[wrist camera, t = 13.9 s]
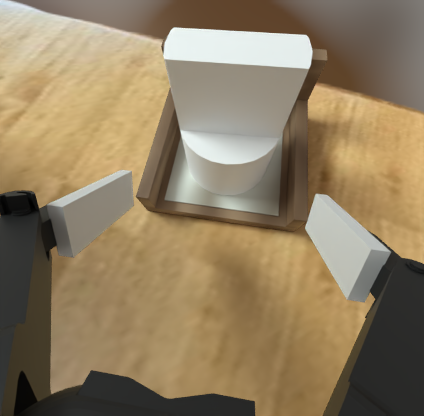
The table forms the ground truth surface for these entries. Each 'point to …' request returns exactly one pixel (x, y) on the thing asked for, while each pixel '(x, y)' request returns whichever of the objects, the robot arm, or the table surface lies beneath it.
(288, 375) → the table surface
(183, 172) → the walnut rest
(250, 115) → the base with upright slab
